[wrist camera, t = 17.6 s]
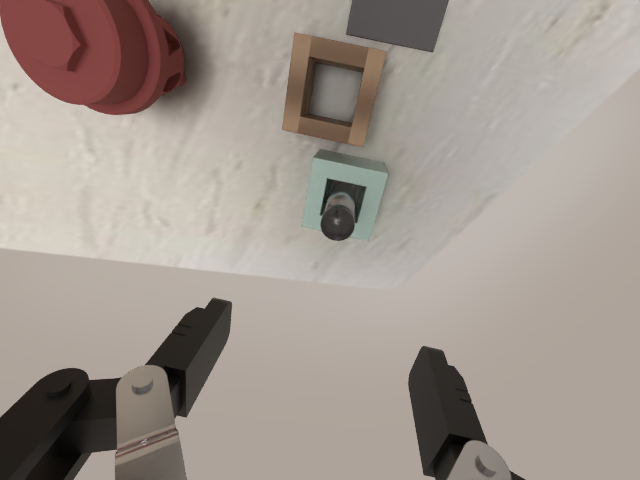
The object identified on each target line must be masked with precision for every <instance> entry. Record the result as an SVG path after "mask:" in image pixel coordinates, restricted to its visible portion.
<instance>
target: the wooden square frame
mask: <svg viewBox="0 0 640 480" xmlns="http://www.w3.org/2000/svg"><path fill="white" fill-rule="evenodd" d="M386 52H387V51H382V50H377V49H373V48H368V47H363V46H358V45H353V44H348V43H343V42H339V41H334V40H329V39H324V38H319V37H314V36H310V35H305V34H300V33H295V32H294V40H293V48H292V56H291V63H290V71H289V79H288V87H287V95H286V103H285V111H284V119H283V126H282V130H285V131H290V132H294V133H299V134H304V135H308V136H313V137H318V138H322V139H327V140H332V141H336V142H341V143H346V144H350V145H355V146H360V147H363V146H364V142H365V138H366V134H367V130H368V126H369V121H370V117H371V113H372V109H373V105H374V101H375V97H376V93H377V89H378V84H379V80H380V76H381V72H382V68H383V64H384V60H385V56H386ZM316 63H320V64H325V65H330V66H335V67H339V68H344V69H349V70H354V71H359V72H363V77H362V82H361V86H360V91H359V95H358V100H357V104H356V109H355V114H354V118H353V123H349V122H344V121H340V120H335V119H330V118H325V117H321V116H316V115H311V114H308V113H309V106H310V100H311V94H312V88H313V81H314V75H315V69H316Z"/></svg>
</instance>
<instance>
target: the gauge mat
mask: <svg viewBox="0 0 640 480" xmlns="http://www.w3.org/2000/svg"><path fill="white" fill-rule="evenodd" d="M448 1H449V0H353V1H352V6H351V11H350V16H349V22H348V27H347V32H346V34H347V35H352V36H357V37H361V38H366V39H371V40H376V41H381V42H386V43H391V44H396V45H400V46H405V47H410V48H415V49H420V50H425V51H430V52H433V51H434V47H435V44H436V41H437V37H438V34H439V31H440V27H441V24H442V21H443V17H444V14H445V11H446V7H447V4H448Z"/></svg>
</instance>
